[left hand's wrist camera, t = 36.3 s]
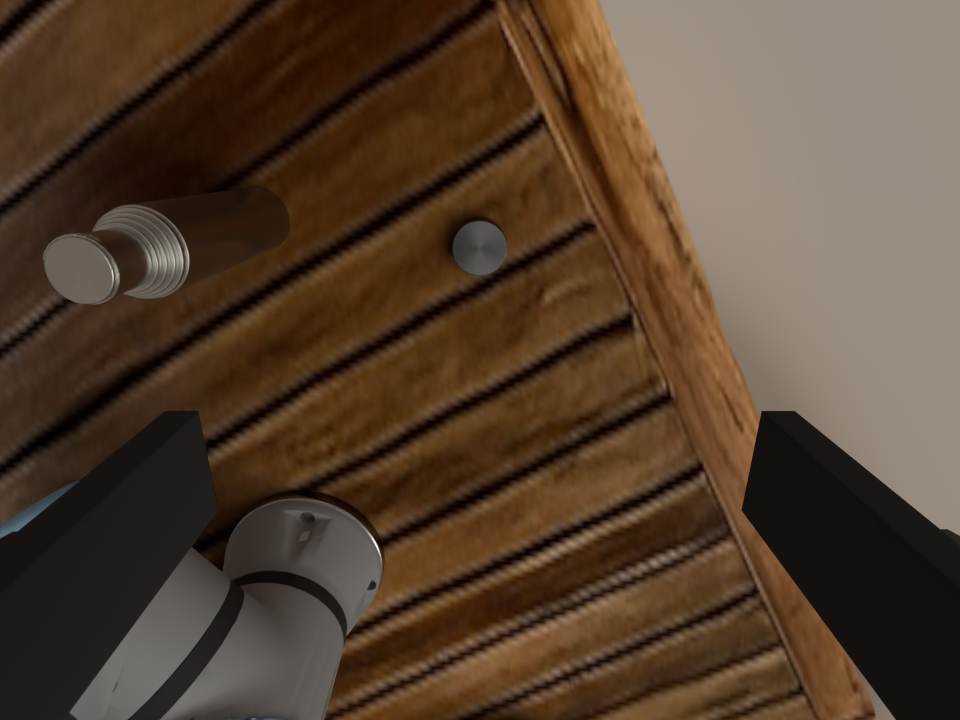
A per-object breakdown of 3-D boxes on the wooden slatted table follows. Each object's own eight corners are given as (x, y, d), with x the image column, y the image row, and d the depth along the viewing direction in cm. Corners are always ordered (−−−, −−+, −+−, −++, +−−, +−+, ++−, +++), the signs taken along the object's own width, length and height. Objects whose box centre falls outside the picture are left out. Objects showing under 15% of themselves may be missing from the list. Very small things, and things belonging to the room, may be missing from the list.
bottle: (298, 204, 43) (147, 245, 23) (278, 260, 44) (121, 341, 25) (238, 176, 42) (31, 193, 23) (220, 233, 44) (11, 296, 24)
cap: (476, 206, 43) (475, 208, 41) (516, 240, 44) (518, 245, 41) (443, 247, 44) (441, 252, 42) (483, 279, 45) (483, 286, 43)
